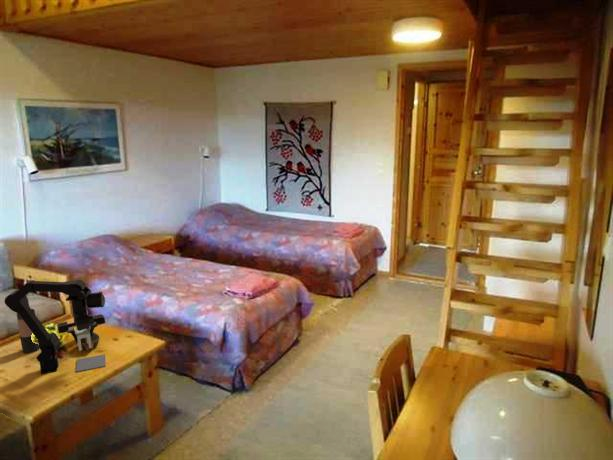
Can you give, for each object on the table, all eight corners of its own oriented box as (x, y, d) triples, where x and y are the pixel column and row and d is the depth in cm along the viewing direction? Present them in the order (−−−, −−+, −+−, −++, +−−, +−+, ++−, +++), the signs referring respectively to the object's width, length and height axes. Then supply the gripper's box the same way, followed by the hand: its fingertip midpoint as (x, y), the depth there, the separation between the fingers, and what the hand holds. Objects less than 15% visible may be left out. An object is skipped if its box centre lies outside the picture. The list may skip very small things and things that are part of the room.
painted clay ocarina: (97, 339, 230) (96, 324, 228) (102, 352, 218) (101, 337, 216) (76, 342, 225) (75, 328, 223) (80, 357, 212) (79, 341, 210)
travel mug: (38, 352, 216) (33, 313, 212) (20, 355, 214) (14, 315, 209) (41, 345, 223) (36, 307, 219) (24, 348, 221) (18, 310, 216)
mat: (75, 372, 197) (75, 371, 197) (77, 360, 208) (77, 359, 208) (105, 366, 202) (105, 365, 202) (105, 354, 213) (105, 354, 213)
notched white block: (77, 345, 202) (75, 330, 201) (89, 342, 205) (87, 327, 204) (79, 350, 197) (77, 336, 195) (91, 347, 199) (89, 333, 198)
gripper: (57, 319, 185) (62, 354, 189) (105, 309, 196) (109, 342, 199) (54, 311, 195) (59, 344, 198) (101, 301, 205) (104, 333, 208)
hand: (83, 341), depth 200 cm, fingers closed on notched white block, 5 cm apart
